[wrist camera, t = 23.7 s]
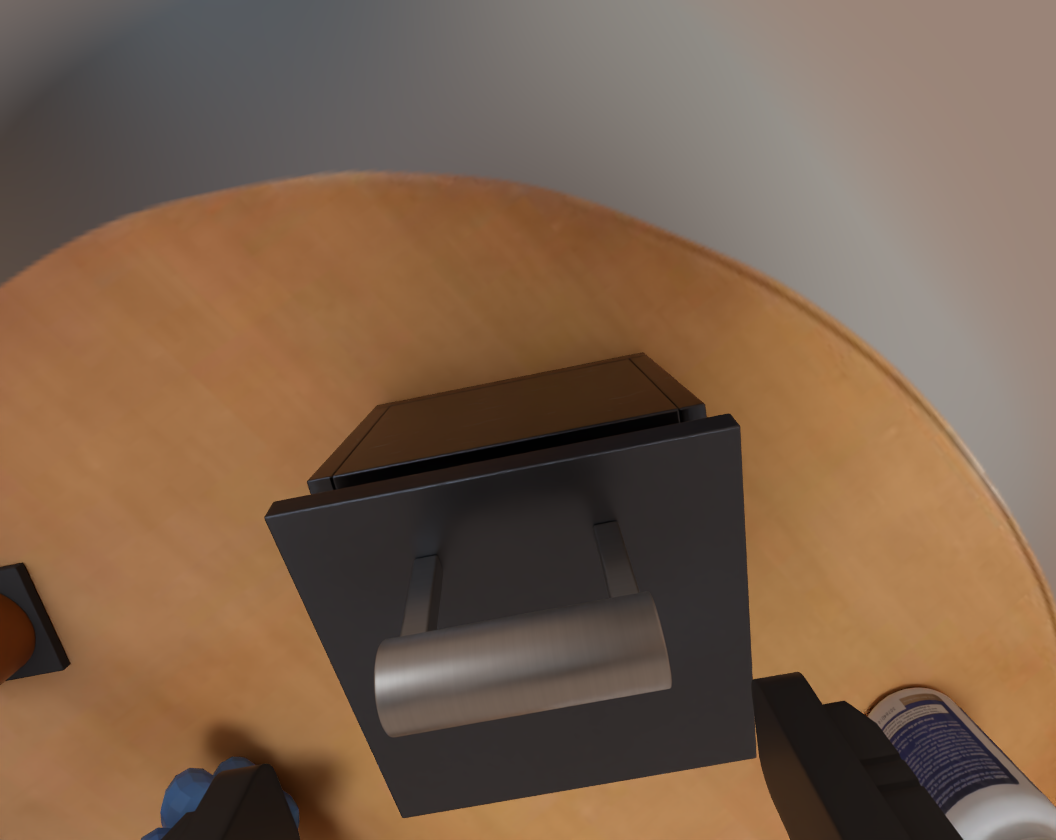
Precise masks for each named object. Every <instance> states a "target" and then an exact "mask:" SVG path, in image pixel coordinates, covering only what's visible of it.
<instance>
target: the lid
mask: <svg viewBox="0 0 1056 840" xmlns="http://www.w3.org/2000/svg"><path fill="white" fill-rule="evenodd" d="M265 521H266V523H267V525H268V527H269V530H270V532H271V534H272V536H273V538H274V540H275V543H276V545H277V547H278V549H279V551H280V553H281V556H282V558H283V560H284V562H285V564H286V566H287V569H288V571H289V573H290V575H291V577H292V579H293V582H294V584H295V586H296V588H297V590H298V593H299V595H300V597H301V599H302V601H303V603H304V606H305V608H306V610H307V612H308V614H309V616H310V619H311V621H312V623H313V625H314V627H315V629H316V632H317V634H318V636H319V638H320V640H321V642H322V645H323V647H324V649H325V651H326V653H327V655H328V658H329V660H330V662H331V664H332V666H333V668H334V671H335V673H336V675H337V677H338V679H339V681H340V684H341V686H342V688H343V690H344V692H345V694H346V697H347V699H348V701H349V703H350V705H351V707H352V710H353V712H354V714H355V716H356V718H357V720H358V723H359V725H360V727H361V729H362V731H363V733H364V736H365V738H366V740H367V742H368V744H369V746H370V749H371V751H372V753H373V755H374V757H375V760H376V762H377V764H378V766H379V768H380V770H381V773H382V775H383V777H384V779H385V781H386V783H387V786H388V788H389V790H390V792H391V794H392V796H393V799H394V801H395V803H396V805H397V807H398V809H399V812H400V814H401V816H402V818H408V817H414V816H419V815H425V814H431V813H437V812H443V811H449V810H455V809H460V808H466V807H472V806H478V805H484V804H490V803H495V802H501V801H507V800H513V799H519V798H525V797H531V796H536V795H542V794H548V793H554V792H560V791H566V790H571V789H577V788H583V787H589V786H595V785H601V784H607V783H612V782H618V781H624V780H630V779H636V778H642V777H647V776H653V775H659V774H665V773H671V772H677V771H683V770H688V769H694V768H700V767H706V766H712V765H718V764H723V763H729V762H735V761H741V760H747V759H753V758H756V738H755V718H754V708H753V699H752V691H751V682H752V680H753V677H752V657H751V637H750V617H749V596H748V576H747V556H746V536H745V515H744V495H743V475H742V455H741V434H740V425H739V424H738V423H737V422H736V420H735V419H734V418H733V417H732V415H731V414H723V415H718V416H713V417H708V418H703V419H698V420H692V421H687V422H682V423H677V424H672V425H667V426H662V427H656V428H651V429H646V430H641V431H636V432H631V433H626V434H620V435H615V436H610V437H605V438H600V439H595V440H590V441H584V442H579V443H574V444H569V445H564V446H559V447H553V448H548V449H543V450H538V451H533V452H528V453H523V454H517V455H512V456H507V457H502V458H497V459H492V460H487V461H481V462H476V463H471V464H466V465H461V466H456V467H451V468H445V469H440V470H435V471H430V472H425V473H420V474H414V475H409V476H404V477H399V478H394V479H389V480H384V481H378V482H373V483H368V484H363V485H358V486H353V487H348V488H342V489H337V490H332V491H327V492H322V493H317V494H311V495H306V496H301V497H296V498H291V499H286V500H281V501H275V502H273V504H272V505H271V507H270V509H269V510H268V512H267V514H266V515H265Z"/></svg>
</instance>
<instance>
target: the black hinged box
mask: <svg viewBox="0 0 1056 840" xmlns="http://www.w3.org/2000/svg"><path fill="white" fill-rule="evenodd" d="M703 418H707V415H706V407H705V404H704V403H703V402H702V401H701V400H699V399H698V398H697V397H696V396H695V395H693V394H692V393H691V392H690V391H689V390H688V389H686V388H685V387H684V386H683V385H682V384H680V383H679V382H678V381H677V380H676V379H674V378H673V377H672V376H671V375H670V374H668V373H667V372H666V371H665V370H664V369H662V368H661V367H660V366H659V365H658V364H657V363H655V362H654V361H653V360H652V359H651V358H649V357H648V356H647V355H646V354H645V353H643V352H642V353H637V354H632V355H627V356H622V357H617V358H612V359H607V360H602V361H597V362H592V363H587V364H582V365H577V366H572V367H567V368H562V369H557V370H552V371H547V372H542V373H537V374H532V375H527V376H522V377H517V378H512V379H507V380H502V381H497V382H492V383H487V384H482V385H477V386H472V387H467V388H462V389H457V390H452V391H447V392H442V393H437V394H432V395H427V396H422V397H417V398H412V399H407V400H402V401H397V402H392V403H387V404H381V405H377V406H376V407H375V408H374V409H373V410H372V411H371V412H370V413H369V414H368V415H367V417H366V418H365V419H364V420H363V421H362V422H361V423H360V424H359V425H358V426H357V427H356V428H355V430H354V431H353V432H352V433H351V434H350V435H349V436H348V437H347V438H346V439H345V440H344V442H343V443H342V444H341V445H340V446H339V447H338V448H337V449H336V450H335V451H334V452H333V454H332V455H331V456H330V457H329V458H328V459H327V460H326V461H325V462H324V463H323V464H322V465H321V467H320V468H319V469H318V470H317V471H316V472H315V473H314V474H313V475H312V476H311V477H310V479H309V480H308V481H307V484H308V487H309V490H310V493H311V494H317V493H322V492H327V491H332V490H337V489H342V488H348V487H353V486H358V485H363V484H368V483H373V482H378V481H384V480H389V479H394V478H399V477H404V476H409V475H414V474H420V473H425V472H430V471H435V470H440V469H445V468H451V467H456V466H461V465H466V464H471V463H476V462H481V461H487V460H492V459H497V458H502V457H507V456H512V455H517V454H523V453H528V452H533V451H538V450H543V449H548V448H553V447H559V446H564V445H569V444H574V443H579V442H584V441H590V440H595V439H600V438H605V437H610V436H615V435H620V434H626V433H631V432H636V431H641V430H646V429H651V428H656V427H662V426H667V425H672V424H677V423H682V422H687V421H692V420H698V419H703Z"/></svg>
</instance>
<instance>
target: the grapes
mask: <svg viewBox="0 0 1056 840" xmlns="http://www.w3.org/2000/svg"><path fill="white" fill-rule="evenodd" d="M253 765H255V764H254V763H252V762H251V761H249V760H248V759H246V758H245V757H231V758H229V759H227V760H226V761H224V762H222V763H220V765H219V766H218V768H217V769H216V771H215V772H214V774H213V775H211V774H210V773H209V772H207V771H206V770H204V769H199V768H189V769H187V770H185V771H183V772H182V773H180V774H178V775H176V776H175V778H174V779H173V781H172V782H171V783H170V785H169V786H168V788H167V789H166V791H165V795H164V799H163V803H162V807H161V823H162V826H163V828H157V829H155V830H153V831H152V832H150V833H148V834H147V835H145V836H144V837H142V838H141V840H161V839H162V838H163V837H164V836H165V835H166V834H167V833H168V831H169V830H170V829H171V828H172V827H173V826H174V825H175V824H176V823H177V822H178V821H179V820H180V819H181V818H182V817H183V816H184V815H185V814H186V813H187V812H193V811H195V810H196V808H197V807H198V805H199V803H200V801H201V800H202V798H203V796H204V794H205V793H206V791H207V789H208V787H209V786H210V784H211V782H212V780H213V779H214V777H215V776H216V775H217V774H218V773H220V772H222V771H225V770H231V769H236V768H242V767H248V766H253ZM283 793H284V795H285V798H286V800H287V803H288V805H289V808H290V811H291V813H292V816H293V818H294V821H295V823H296V826H297V829H298V827H299V822H300V820H299V809H298V806H297V804H296V802H295V801H294V799H293V798H292V796H291V795H289V794H288V793H286V792H285V791H283Z"/></svg>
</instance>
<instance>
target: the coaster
mask: <svg viewBox="0 0 1056 840" xmlns="http://www.w3.org/2000/svg"><path fill="white" fill-rule="evenodd" d="M0 594H2V595H4V596H6V597H8V598H9V599H11V600H12V601H13V602H15V603H16V604H17V605H18V606H19V607H20V608H21V609H22V610H23V611H24V612H25V613H26V615H27V616H28V617H29V619H30V621H31V623H32V625H33V628H34V632H35V639H36V640H35V648H34V651H33V654H32V656H31V657H30V659H29V660H28V661H27V663H26V664H25V665H23V666H22V667H21V668H20V669H19V670H17V671H16V672H15V673H14V674H13V675H11V676H10V677H9V678H8V679H7V680H5V681H8V680H13V679H19V678H24V677H29V676H35V675H40V674H46V673H51V672H56V671H62V670H64V669H65V668H66V667H68V666H69V665H70V663H69V661H68V659H67V657H66V655H65V653H64V650H63V648H62V646H61V644H60V642H59V640H58V638H57V635H56V633H55V631H54V629H53V627H52V625H51V622H50V620H49V618H48V616H47V614H46V612H45V610H44V607H43V605H42V603H41V601H40V599H39V597H38V594H37V592H36V590H35V588H34V586H33V584H32V582H31V579H30V577H29V575H28V573H27V571H26V569H25V567H24V564H23V563H20V564H15V565H10V566H5V567H0Z"/></svg>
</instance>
